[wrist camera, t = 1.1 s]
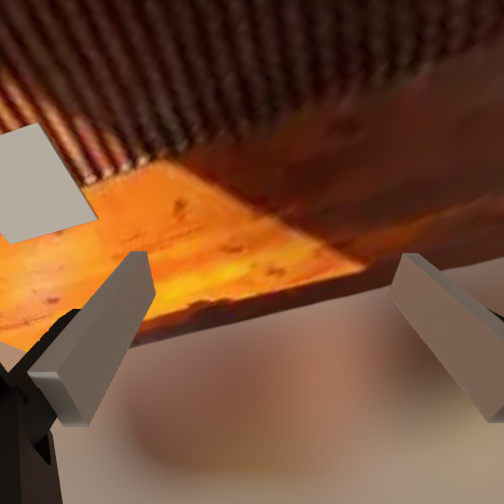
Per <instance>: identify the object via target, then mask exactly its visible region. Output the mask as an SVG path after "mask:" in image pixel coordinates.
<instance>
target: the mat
mask: <svg viewBox="0 0 504 504" xmlns="http://www.w3.org/2000/svg"><path fill="white" fill-rule="evenodd" d="M97 219H99V218H98V217H97V215H96V213H95V212H94V210H93V209H92V207H91V205H90V204H89V202H88V200H87V199H86V197H85V196H84V194H83V192H82V191H81V189H80V187H79V186H78V184H77V182H76V181H75V179H74V178H73V176H72V174H71V173H70V171H69V169H68V168H67V166H66V164H65V163H64V161H63V160H62V158H61V156H60V155H59V153H58V151H57V150H56V148H55V147H54V145H53V143H52V142H51V140H50V138H49V137H48V135H47V133H46V132H45V130H44V129H43V127H42V125H41V124H40V123H35V124H32V125H29V126H26V127H23V128H20V129H18V130H15V131H12V132H9V133H6V134H3V135H0V233H1V234H2V235H3V236H4V237H5V239H6V240H7V241H8V242H9V243H10V244H14V243H18V242H21V241H24V240H28V239H31V238H35V237H38V236H42V235H45V234H49V233H52V232H56V231H59V230H63V229H66V228H70V227H73V226H77V225H80V224H84V223H87V222H91V221H94V220H97Z"/></svg>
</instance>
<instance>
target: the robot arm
mask: <svg viewBox="0 0 504 504" xmlns="http://www.w3.org/2000/svg"><path fill="white" fill-rule="evenodd" d="M155 295H156V293H155V288H154V284H153V279H152V275H151V270H150V266H149V261H148V257H147V252H146V251H131V252H130V253H129V254H128V255H127V257H126V258H125V259H124V260H123V261H122V262H121V264H120V265H119V266H118V267H117V268H116V269H115V271H114V272H113V273H112V274H111V275H110V276H109V277H108V279H107V280H106V281H105V282H104V283H103V284H102V286H101V287H100V288H99V289H98V290H97V291H96V293H95V294H94V295H93V296H92V297H91V298H90V300H89V301H88V302H87V303H86V304H85V305H84V307H83V308H82V309H72V310H71V311H69V312H68V313H66V314H65V315H63V316H62V317H60V318H59V319H58V320H57V321H56V322H55V323H54V324H53V325H52V326H51V327H50V329H49V331H48V332H46V333H45V334H44V335H43V336H42V337H41V338H40V341H37V343H36V344H35V345H34V346H33V347H32V348H31V349H30V350H29V351H28V352H27V353H26V354H25V356H23V358H22V359H21V360H20V361H19V362H18V363H17V364H16V365H15V366H14V367H13V368H12V369H11V370H10V372H9V373H8V372H7V371H6V370H5V368H4V367H3V365H2V364H1V363H0V504H63V503H62V495H61V489H60V482H59V475H58V468H57V462H56V455H55V448H54V441H53V435H52V433H51V431H50V428H51V426H52V424H53V423H54V421H55V420H56V418H57V417H58V419H59V420H60V422H61V423H62V425H63V426H64V427H88V426H89V424H90V422H91V420H92V418H93V417H94V415H95V413H96V411H97V409H98V407H99V405H100V403H101V401H102V399H103V397H104V395H105V393H106V391H107V389H108V387H109V385H110V383H111V381H112V379H113V377H114V375H115V374H116V372H117V370H118V368H119V366H120V364H121V362H122V360H123V358H124V356H125V354H126V352H127V350H128V348H129V346H130V344H131V342H132V340H133V338H134V336H135V335H136V333H137V331H138V329H139V327H140V325H141V323H142V321H143V319H144V317H145V315H146V313H147V311H148V309H149V307H150V305H151V303H152V301H153V299H154V297H155ZM388 296H389V297H390V299H391V300H392V301H393V303H394V304H395V305H396V306H397V307H398V309H399V310H400V311H401V313H402V314H403V315H404V316H405V318H406V319H407V320H408V322H409V323H410V324H411V325H412V326H413V328H414V329H415V330H416V332H417V333H418V334H419V335H420V337H421V338H422V339H423V341H424V342H425V343H426V344H427V346H428V347H429V348H430V349H431V351H432V352H433V353H434V354H435V356H436V357H437V358H438V359H439V361H440V362H441V363H442V365H443V366H444V367H445V368H446V370H447V371H448V372H449V374H450V375H451V376H452V377H453V378H454V380H455V381H456V382H457V384H458V385H459V386H460V388H461V389H462V390H463V391H464V392H465V394H466V395H467V396H468V398H469V399H470V400H471V401H472V403H473V404H474V405H475V406H476V408H477V409H478V410H479V411H480V413H481V414H482V415H483V417H484V418H485V419H486V420H487V422H489V423H490V422H491V423H492V422H493V423H494V422H495V423H496V422H504V317H502V316H500V315H498V314H497V313H495V312H492V311H491V310H489V309H487V308H485V307H484V306H483V305H482V304H480V303H479V302H478V301H477V300H475V299H474V298H473V297H472V296H470V295H469V294H468V293H467V292H465V291H464V290H463V289H461V288H460V287H459V286H458V285H457V284H455V283H454V282H453V281H452V280H450V279H449V278H448V277H447V276H445V275H444V274H443V273H442V272H440V271H439V270H438V269H437V268H435V267H434V266H433V265H432V264H430V263H429V262H428V261H427V260H425V259H424V258H423V257H422V256H420V255H419V254H418V253H403V255H402V258H401V260H400V263H399V266H398V269H397V271H396V274H395V277H394V280H393V282H392V285H391V288H390V291H389V293H388Z"/></svg>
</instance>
